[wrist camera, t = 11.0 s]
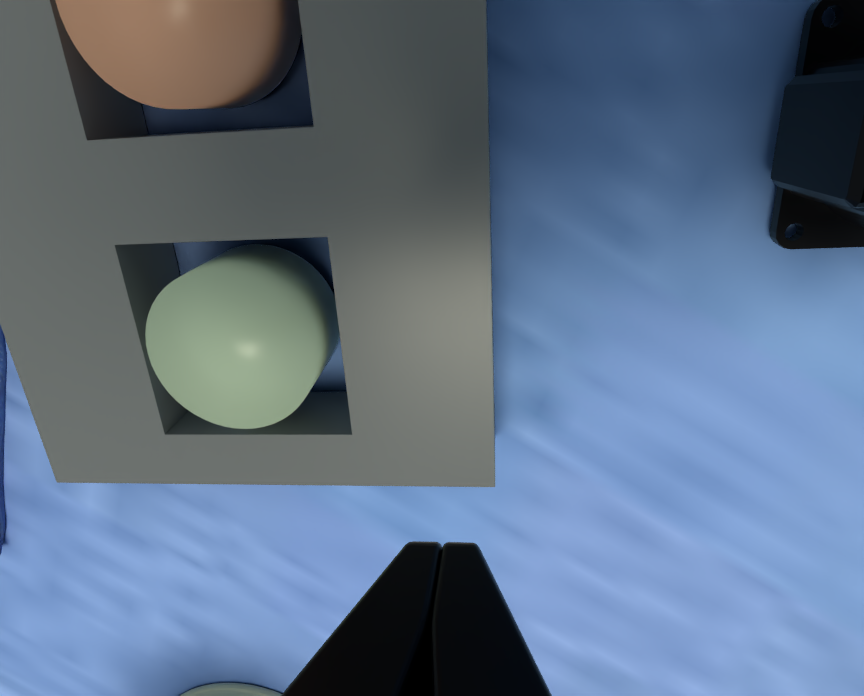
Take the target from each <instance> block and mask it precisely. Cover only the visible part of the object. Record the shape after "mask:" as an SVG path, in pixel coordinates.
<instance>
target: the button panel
mask: <svg viewBox="0 0 864 696" xmlns="http://www.w3.org/2000/svg"><path fill="white" fill-rule="evenodd" d="M298 5H299V13H300V21H301V29H302V37H303V45H304V53H305V61H306V69H307V77H308V85H309V93H310V101H311V109H312V117H313V125H306V126H289V127H272V128H255V129H239V130H222V131H205V132H188V133H171V134H155V135H148V132H147V128H146V124H145V119H144V115H143V110H142V106H141V103H140V102H138V101H135V100H133V99H131V98H129V97H127V96H125V95H124V94H122V93H120V92H119V91H117V90H116V89H114V88H113V87H112V86H110V85H109V84H108V83H106V82H105V81H104V80H103V79H102V78H101V77H100V76H99V75H98V74H97V73H96V72H95V71H94V70H93V69H92V68H91V67H90V66H89V65H88V63H87V62H86V61H85V60H84V59H83V57H82V56H81V54H80V53H79V51H78V50H77V48H76V47H75V45H74V44H73V42H72V40H71V38H70V36H69V35H68V33H67V31H66V29H65V26H64V24H63V22H62V19H61V17H60V14H59V11H58V8H57V4H56V1H55V0H0V325H1V328H2V330H3V333H4V336H5V339H6V342H7V344H8V347H9V350H10V353H11V356H12V358H13V361H14V364H15V367H16V370H17V372H18V375H19V378H20V381H21V383H22V386H23V389H24V392H25V395H26V397H27V400H28V403H29V406H30V409H31V411H32V414H33V417H34V420H35V423H36V425H37V428H38V431H39V434H40V437H41V439H42V442H43V445H44V448H45V451H46V453H47V456H48V459H49V462H50V464H51V467H52V470H53V473H54V476H55V478H56V481H57V482H66V483H161V484H257V485H353V486H449V487H495V416H494V363H493V310H492V256H491V203H490V150H489V96H488V43H487V0H298ZM311 237H328V245H329V253H330V261H331V269H332V277H333V285H334V293H335V301H336V309H337V317H338V325H339V333H340V341H341V349H342V357H343V365H344V373H345V381H346V389H347V392H309V393H308V395H307V396H306V398H305V399H304V401H303V402H302V403H301V404H300V406H299V407H298V408H297V409H296V410H295V411H294V412H293V413H292V414H290V415H289V416H287V417H286V418H284V419H283V420H281V421H279V422H277V423H274V424H271V425H268V426H265V427H260V428H253V429H237V428H230V427H224V426H221V425H217V424H214V423H211V422H209V421H207V420H204V419H202V418H200V417H198V416H197V415H195V414H193V413H192V412H190V411H189V410H187V409H186V408H184V407H183V406H182V405H181V404H180V403H178V402H177V401H176V400H175V399H174V398H173V397H172V396H171V395H170V394H169V393H168V391H167V390H166V389H165V387H164V386H163V385H162V384H161V382H160V380H159V379H158V377H157V375H156V374H155V371H154V369H153V367H152V365H151V362H150V359H149V356H148V352H147V347H146V337H145V332H146V322H147V318H148V314H149V311H150V309H151V306H152V304H153V302H154V301H155V299H156V297H157V296H158V294H159V293H160V292H161V291H162V290H163V289H164V288H165V287H166V286H167V285H168V284H169V283H171V282H172V281H173V280H175V279H177V278H178V277H180V274H179V269H178V265H177V260H176V256H175V252H174V247H173V243H179V242H205V241H232V240H258V239H285V238H311Z"/></svg>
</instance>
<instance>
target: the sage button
mask: <svg viewBox="0 0 864 696" xmlns="http://www.w3.org/2000/svg"><path fill="white" fill-rule="evenodd" d="M339 335H340V333H339V325H338V317H337V309H336V301H335V297H334V295H333V292H332V290H331V288H330V287H329V285H328V284H327V282H326V280H325V279H324V278H323V277H322V275H321V274H320V273H319V272H318V271H317V270H316V269H315V268H314V267H313V266H312V265H311V264H310V263H308V262H307V261H306V260H304V259H303V258H301V257H300V256H298V255H296V254H294V253H292V252H290V251H288V250H286V249H283V248H280V247H276V246H272V245H266V244H249V245H242V246H238V247H235V248H232V249H230V250H227V251H225V252H223V253H222V254H220V255H218V256H216V257H214V258H213V259H211V260H209V261H207V262H205V263H203V264H202V265H200V266H198V267H196V268H194V269H193V270H191V271H189V272H187V273H185V274H184V275H182V276H180V277H178V278H177V279H175V280H173V281H172V282H171V283H169V284H168V285H167V286H166V287H165V288H164V289H163V290H162V291H161V292H160V293H159V294H158V296H157V297H156V299H155V301H154V302H153V304H152V306H151V309H150V311H149V314H148V318H147V322H146V332H145V337H146V347H147V352H148V356H149V359H150V362H151V365H152V367H153V369H154V371H155V374H156V375H157V377H158V379H159V380H160V382H161V384H162V385H163V386H164V387H165V389H166V390H167V391H168V393H169V394H170V395H171V396H172V397H173V398H174V399H175V400H176V401H177V402H178V403H180V404H181V405H182V406H183V407H184V408H186V409H187V410H189V411H190V412H192V413H193V414H195V415H197V416H198V417H200V418H202V419H204V420H207V421H209V422H211V423H214V424H217V425H221V426H224V427H230V428H237V429H253V428H260V427H265V426H268V425H271V424H274V423H277V422H279V421H281V420H283V419H284V418H286V417H287V416H289V415H290V414H292V413H293V412H294V411H295V410H296V409H297V408H298V407H299V406H300V404H301V403H302V402H303V401H304V399H305V398H306V396H307V395H308V393H309V391H310V390H311V388H312V387H313V385H314V384H315V382H316V381H317V379H318V377H319V376H320V374H321V373H322V371H323V370H324V368H325V366H326V365H327V363H328V362H329V360H330V359H331V357H332V355H333V353H334V352H335V349H336V346H337V344H338V340H339Z"/></svg>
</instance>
